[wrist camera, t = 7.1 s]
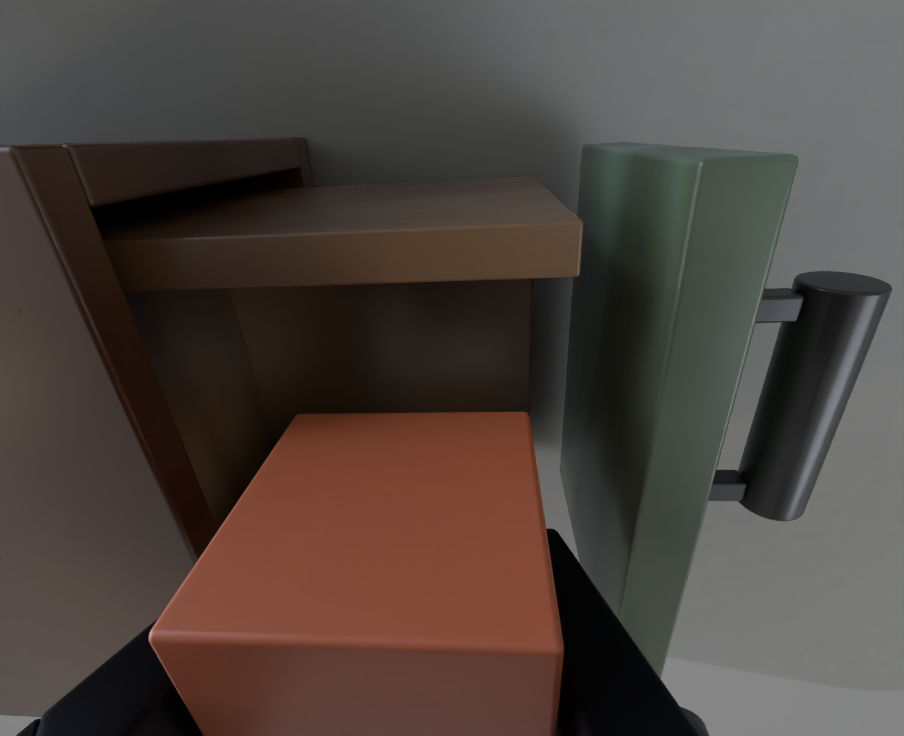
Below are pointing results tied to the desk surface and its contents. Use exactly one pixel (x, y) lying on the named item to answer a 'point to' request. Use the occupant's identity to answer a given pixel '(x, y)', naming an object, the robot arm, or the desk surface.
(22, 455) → the cabinet
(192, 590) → the block
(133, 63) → the desk surface
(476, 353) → the drawer
